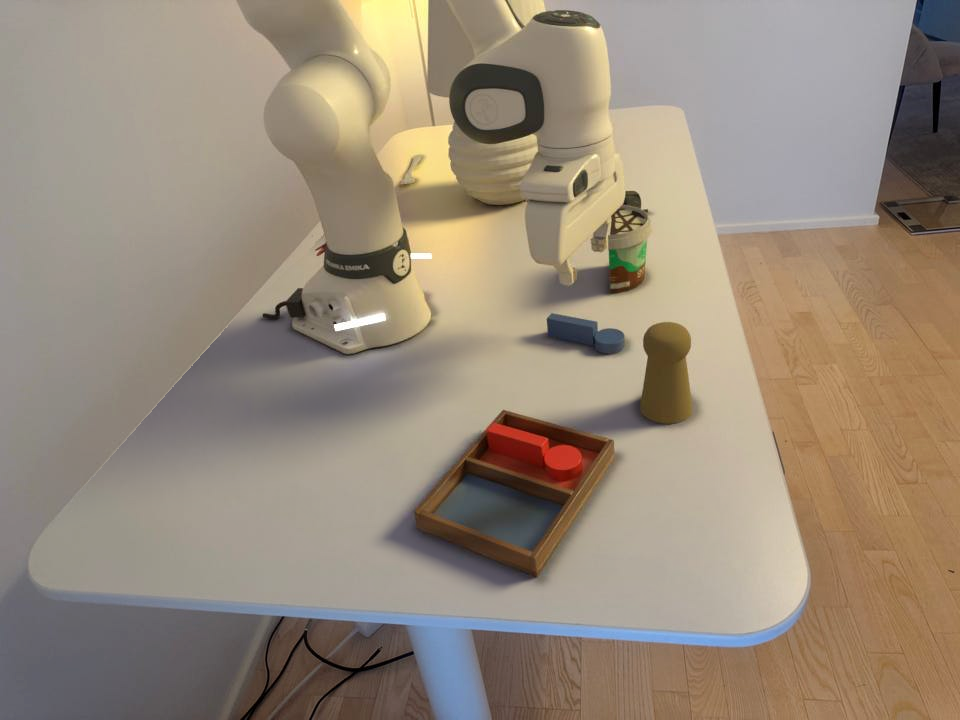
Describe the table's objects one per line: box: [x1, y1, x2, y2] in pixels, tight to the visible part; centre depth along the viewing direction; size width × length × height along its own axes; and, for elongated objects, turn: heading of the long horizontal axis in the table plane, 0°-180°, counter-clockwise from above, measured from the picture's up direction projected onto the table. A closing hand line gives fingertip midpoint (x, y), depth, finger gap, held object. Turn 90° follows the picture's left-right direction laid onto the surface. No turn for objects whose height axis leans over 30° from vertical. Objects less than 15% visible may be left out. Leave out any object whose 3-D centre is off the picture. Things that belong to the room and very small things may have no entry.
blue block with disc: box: [546, 312, 626, 355], centre depth 98 cm, size 11×4×3 cm, turn 58°
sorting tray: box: [413, 409, 615, 578], centre depth 76 cm, size 14×18×3 cm
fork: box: [398, 154, 422, 186], centre depth 168 cm, size 3×24×2 cm, turn 177°
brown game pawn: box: [639, 321, 693, 425], centre depth 82 cm, size 6×6×11 cm
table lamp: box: [426, 0, 547, 206], centre depth 138 cm, size 25×25×40 cm
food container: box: [607, 205, 653, 294], centre depth 110 cm, size 12×6×10 cm, turn 168°
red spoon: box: [485, 422, 582, 481], centre depth 78 cm, size 11×4×3 cm, turn 58°
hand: (584, 265), depth 92 cm, fingers open, 8 cm apart
